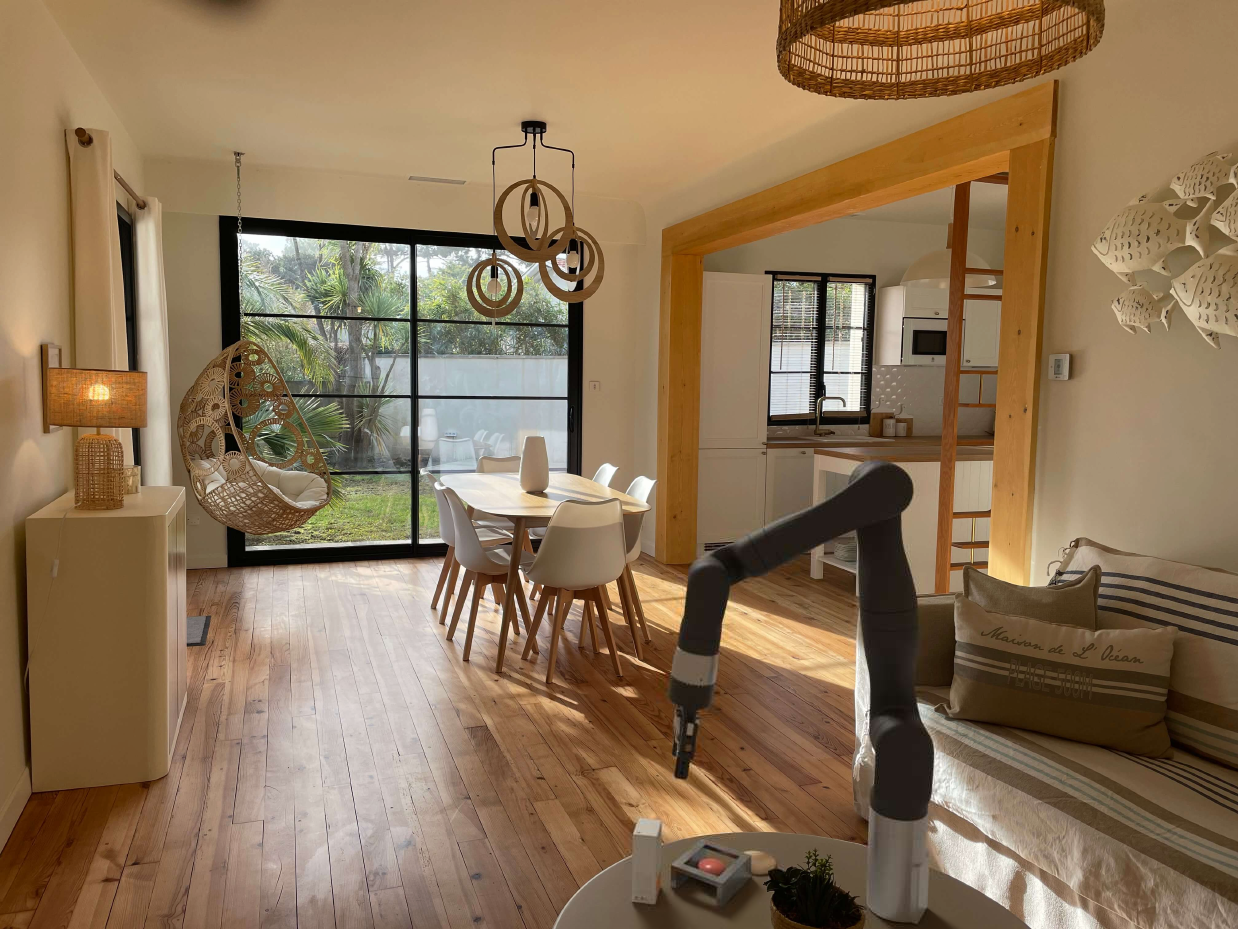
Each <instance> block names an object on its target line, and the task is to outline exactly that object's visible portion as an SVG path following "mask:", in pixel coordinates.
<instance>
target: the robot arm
mask: <svg viewBox="0 0 1238 929" xmlns="http://www.w3.org/2000/svg"><path fill="white" fill-rule="evenodd" d="M914 491H915V490H914V483H913V480H912V478H911V477H910V475H909V473H908V472H907V471H906V470H905V469H904V468H902V467H901V466H899V465H897V464H895V463H893V462H890V461H887V460H885V459H880V458H871V459H867V460H865V461H862V462H861V463H859V464H858V465H857V466H856V467H855V468H854V469H853V470H852V472H851V474H850V477H849V478H848V484H847V486H846V487H843V489H841V490H840V491H838V492H837V493H835V494H833V495H832V496H830V497H828V498H827V499H825V500H823V501H820V502H819V503H817V504H815V505H812V506H810V507H807V508H805V509H803V510H800V511H797V512H793V513H791V514H789V515H786V516H784V517H781V518H778V519H775V520H774V521H771V522H770V523H768V524H766V525H764V526H762V527H760V528H758V529H756V530H754V531H752V532H750V533H749V534H746V535H745V536H743V537H742V538H741V539H739V540H737V541H735V542H732V543H729V544H726V545H724V546H722V547H719V548H716V549H714V550H711V551H710V552H706V553H705V554H704V555H702V556H700V557H698V558H697V559H695V560H694V561H693V562H692V563H691V564H690V566H689V568H688V571H687V584H686V592H685V600H684V601H685V602H684V608H683V609H684V611H683V616H682V618H681V622H680V626H679V631H678V637H677V644H676V648H675V652H674V655H673V659H672V665H671V666H672V667H671V672H670V679H669V686H668V691H667V692H668V693H667V698H668V700H669V702H671V703H673V704H674V705H676V708H675V709H674V718H673V733H674V735H673V742H672V748H671V755H672V756H673V757H676V759H675V760H676V761H675V765H674V771H673V777H674V778H675V779H677V780H687V779H688V777H689V770H690V764H691V763H690V762H691V761H692V760H694V758H695V750H696V743H697V738H698V730H699V727H700V722H701V721H700V720H701V717H700V716H699V710H706V709H707V710H708V709H709V708H710V707H711V706H712V704H713V698H714V692H715V688H716V687H715V686H716V680H717V674H718V669H719V668H718V666H719V651H720V647H721V646H720V645H721V640H722V634H723V632H722V631H723V621H724V617H725V614H726V610H727V605H728V601H729V596H730V591H731V588H732V586H734V585H736V584H738V583H740V582H743V581H745V580H747V579H749V578H751V579H755V578H760V577H762V576H764V575H765V576H766V574H769V573H770V572H772V571H773V572H774V570H776V569H779V568H780V567H782V566H784V565H785V564H788V563H789V562H791V561H794V560H795V559H797V558H799V557H801V556H802V555H804V554H806V553H808V552H810V551H812V550H814V549H816V548H817V547H820V546H822V545H824V544H826V543H827V542H829V541H832V540H834V539H837V538H839V537H841V536H843V535H846V534H848V533H851V532H853V531H855V534H856V539H857V541H856V542H857V556H858V557H857V570H858V571H857V574H858V575H857V578H858V582H857V583H858V603H859V604H858V606H859V615H860V616H859V617H860V627H861V629H860V630H861V635H862V642H863V650H864V656H865V661H866V666H867V670H868V678H869V716H868V718H869V719H868V720H869V721H868V722H869V723H868V736H869V742H870V744H871V746H872V748H873V751H874V772H873V773H874V775H873V785H872V786H871V787H870V790H869V808H868V810H869V811H868V813H869V814H868V835H867V836H868V838H867V863H866V864H867V865H866V867H867V868H866V889H865V890H866V891H865V892H866V894H865V896H866V900H865V901H866V902H865V903H866V906H867V908H868V909H869V910H870V911H871V912H872V913H874V914H875V915H876V916H878V917H880V918H882V919H884V920H888V921H891V922H897V923H912V924H914V925H918V924H919V922H920V920H921V918H922V917H923V915H924V914H925V912H926V910H927V909H928V900H929V899H928V898H929V896H928V895H929V875H930V873H929V872H930V853H929V852H927V836H928V835H927V833H928V812H929V811H928V810H929V803H930V801H931V800H932V794H933V783H934V769H935V768H934V767H935V746H934V741H933V738H932V736H931V734H930V733H929V731H928V730H927V728H926V727H925V725H924V723H923V721H922V718H921V714H920V710H919V706H918V699H917V693H916V687H915V686H916V685H915V669H916V663H917V657H918V653H919V646H920V635H921V632H920V627H921V626H920V615H919V604H918V597H917V596H918V595H917V590H916V585H915V582H914V578H913V574H912V570H911V566H910V565H909V561H908V558H907V553H906V551H905V547H904V542H903V541H904V540H903V529H902V526H903V525H902V514H903V512H904V511H906V510H907V508H908V507H909V506H910V505H911V503H912V501H913V498H914V497H913V496H914V493H915V492H914ZM687 745H688V746H689V747H688V750H687V749H686V748H687Z"/></svg>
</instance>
